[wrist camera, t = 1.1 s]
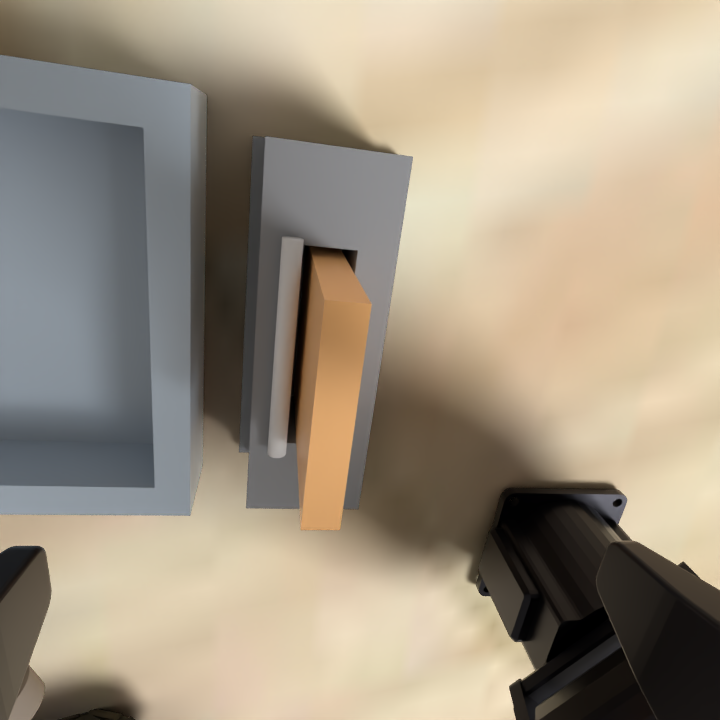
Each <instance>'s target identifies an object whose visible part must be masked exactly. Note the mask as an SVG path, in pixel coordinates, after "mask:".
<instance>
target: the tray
mask: <svg viewBox="0 0 720 720" xmlns="http://www.w3.org/2000/svg"><path fill="white" fill-rule="evenodd" d="M206 143H207V95H206V94H205V93H203V92H202V91H200V90H199V89H197V88H196V87H194V86H193V85H191V84H187V83H180V82H174V81H167V80H161V79H154V78H148V77H141V76H135V75H128V74H122V73H115V72H109V71H102V70H96V69H89V68H83V67H76V66H70V65H63V64H57V63H51V62H44V61H38V60H31V59H25V58H18V57H12V56H5V55H0V514H18V515H187V516H190V515H191V511H192V507H193V503H194V498H195V494H196V490H197V486H198V482H199V478H200V474H201V470H202V466H203V404H204V317H205V230H206Z"/></svg>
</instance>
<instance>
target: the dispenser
mask: <svg viewBox="0 0 720 720" xmlns="http://www.w3.org/2000/svg"><path fill="white" fill-rule="evenodd" d="M412 160H413V157H411V156H404V155H397V154H389V153H382V152H375V151H368V150H361V149H354V148H347V147H339V146H332V145H325V144H318V143H311V142H304V141H297V140H289V139H282V138H275V137H268V136H265V137H258V136H253V142H252V165H251V189H250V212H249V235H248V258H247V281H246V305H245V328H244V351H243V374H242V397H241V420H240V444H239V452H249V462H248V482H247V501H246V508H276V509H300V507H299V487H298V467H297V447H296V427H295V407H294V379H295V367H296V356H297V344H298V332H299V321H300V309H301V298H302V286H303V274H304V263H305V251H306V245H309V246H319V247H329V248H338V249H341V251H342V253H343V254H344V256H345V258H346V260H347V261H348V263H349V265H350V267H351V268H352V270H353V272H354V274H355V276H356V277H357V279H358V281H359V283H360V284H361V286H362V288H363V290H364V291H365V293H366V295H367V297H368V298H369V300H370V302H371V304H372V306H371V313H370V320H369V327H368V334H367V341H366V349H365V356H364V363H363V370H362V377H361V384H360V391H359V398H358V405H357V412H356V420H355V427H354V434H353V441H352V448H351V455H350V462H349V469H348V476H347V484H346V491H345V498H344V505H343V509H358V508H359V502H360V496H361V489H362V483H363V476H364V470H365V463H366V457H367V450H368V444H369V437H370V431H371V425H372V418H373V412H374V405H375V399H376V392H377V386H378V379H379V373H380V366H381V360H382V354H383V347H384V341H385V334H386V328H387V321H388V315H389V308H390V302H391V295H392V289H393V283H394V276H395V270H396V263H397V257H398V250H399V244H400V237H401V231H402V224H403V218H404V212H405V205H406V199H407V192H408V186H409V179H410V173H411V166H412Z"/></svg>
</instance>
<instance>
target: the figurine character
mask: <svg viewBox="0 0 720 720" xmlns="http://www.w3.org/2000/svg"><path fill="white" fill-rule="evenodd" d="M44 693H45V685H44V683H43V681H42V680H41V679H40V677H39V676H38V675H37V674H36V673H35V672H34V670H33V669H32V668H31V667H30V666H29V665H28V667H27V670H26V673H25V676H24V679H23V682H22V685H21V687H20V690H19V693H18V696H17V699H16V702H15V704H14V707H13V710H12V712H11V715H10V718H9V720H31V719H32V718H33V716H34V715H35V713H36V712H37V710H38V708H39V707H40V705H41V702H42V700H43V697H44Z"/></svg>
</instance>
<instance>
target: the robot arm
mask: <svg viewBox="0 0 720 720" xmlns="http://www.w3.org/2000/svg"><path fill="white" fill-rule="evenodd" d="M514 497H515V498H514ZM512 498H514V499H513V500H510V499H512ZM626 503H627V498H626V496H625V495H624V494H623V493H622V492H621V491H619V490H614V489H557V488H509V489H507V490H505V491H504V492H503V493H502V495H501V497H500V501H499V504H498V508H497V511H496V515H495V518H494V522H493V525H492V528H491V529H490V531H489V532H488V536H487V540H486V543H485V547H484V550H483V554H482V557H481V561H480V565H479V575H478V578H477V582H476V587H477V589H478V591H479V593H480V594H481V595H482V596H491V598H492V600H493V602H494V604H495V606H496V608H497V611H498V613H499V615H500V617H501V619H502V621H503V624H504V626H505V628H506V630H507V632H508V634H509V636H510V637H511V639H512V640H513V641H514V642H522V644H523V646H524V648H525V650H526V652H527V654H528V657H529V659H530V661H531V663H532V665H533V667H534V669H535V671H534V672H533V673H531V674H530V675H528V676H527V677H526V678H524V679H523V680H521V679H518V680H517V681H516V682H514V683H513V684H511V685H510V686H509V689H510V693H511V697H512V701H513V705H514V713H515V717H516V720H720V590H718V589H717V588H715V587H713V586H712V585H710V584H708V583H706V582H705V581H703V580H701V579H700V578H699V577H698V576H697V575H696V574H695V573H694V572H693V571H692V570H691V569H690V568H689V567H688V566H687V565H686V564H685V563H684V562H682V563H680V564H679V565H676V564H674V563H673V562H671V561H669V560H667V559H666V558H664V557H662V556H661V555H659V554H657V553H656V552H654V551H652V550H650V549H649V548H647V547H645V546H644V545H642V544H640V543H638V542H636V541H632V540H631V539H630V538H629V536H628V535H627V534H626V533H625V532H624V531H623V530H622V529H621V527H620V526H619V525H618V523H619V521H620V518H621V516H622V513H623V511H624V508H625V506H626ZM50 599H51V583H50V576H49V570H48V563H47V556H46V552H45V550H44V548H42V547H40V546H14V547H10V548H8V549H6V550H4V551H3V552H1V553H0V720H9V718H10V715H11V712H12V710H13V707H14V704H15V702H16V699H17V696H18V693H19V690H20V687H21V685H22V682H23V679H24V676H25V673H26V670H27V667H28V665H29V662H30V659H31V656H32V653H33V650H34V647H35V645H36V642H37V639H38V636H39V633H40V630H41V627H42V625H43V622H44V619H45V616H46V613H47V610H48V607H49V604H50Z"/></svg>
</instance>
